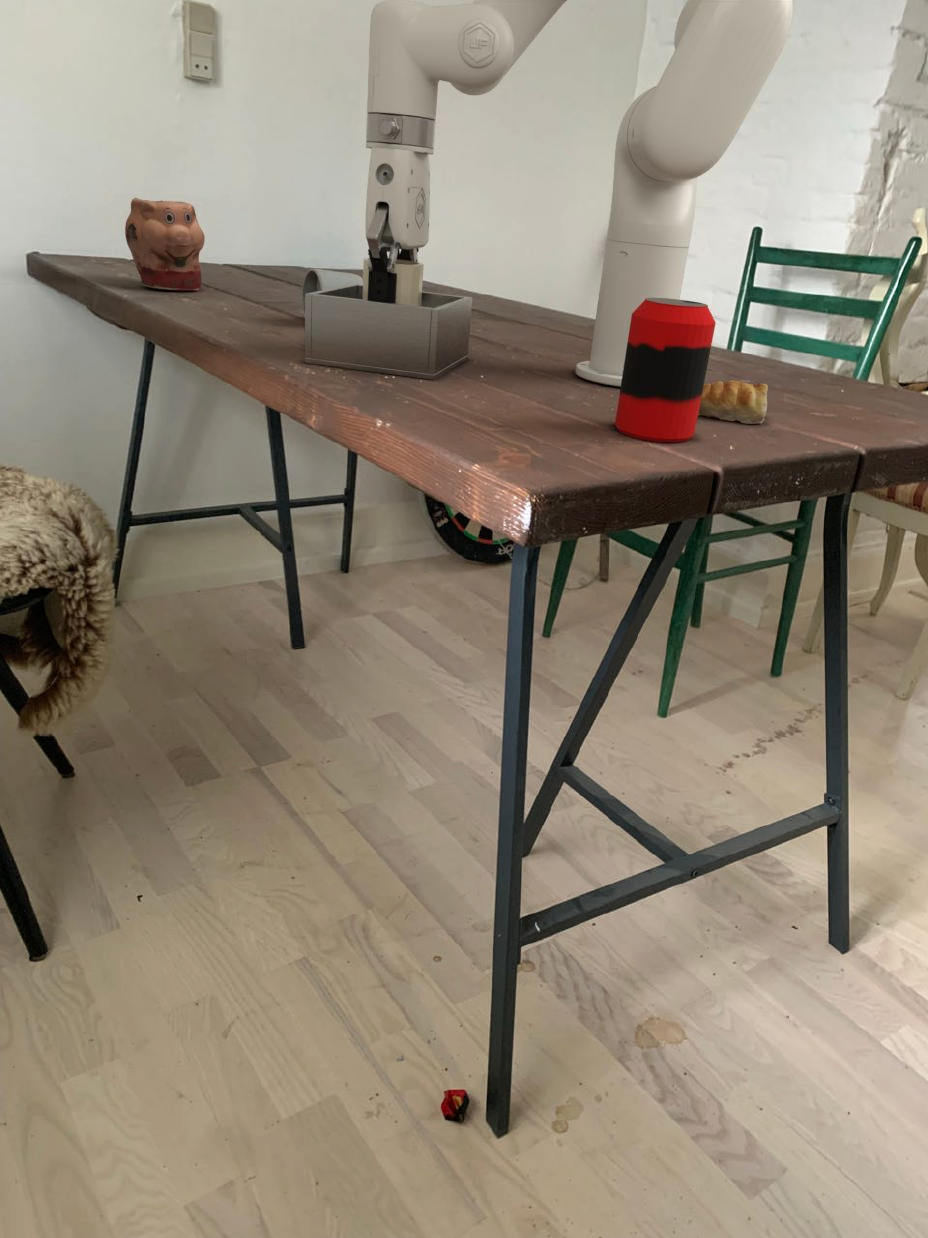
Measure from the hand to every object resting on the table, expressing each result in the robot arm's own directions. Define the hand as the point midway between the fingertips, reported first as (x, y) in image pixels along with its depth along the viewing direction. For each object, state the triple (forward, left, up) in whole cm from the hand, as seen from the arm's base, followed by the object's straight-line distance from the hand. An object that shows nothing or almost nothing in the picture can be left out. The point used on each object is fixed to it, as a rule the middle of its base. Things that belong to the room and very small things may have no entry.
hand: (391, 304), depth 107 cm
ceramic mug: (+17, -23, -7) cm, 29 cm away
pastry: (-40, +6, -7) cm, 41 cm away
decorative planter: (+54, -41, -7) cm, 68 cm away
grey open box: (0, 0, -7) cm, 7 cm away
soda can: (-33, +19, -7) cm, 39 cm away
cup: (0, 0, -4) cm, 4 cm away
